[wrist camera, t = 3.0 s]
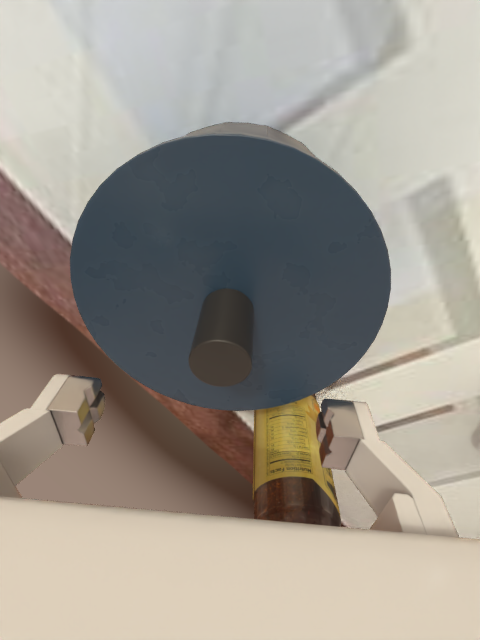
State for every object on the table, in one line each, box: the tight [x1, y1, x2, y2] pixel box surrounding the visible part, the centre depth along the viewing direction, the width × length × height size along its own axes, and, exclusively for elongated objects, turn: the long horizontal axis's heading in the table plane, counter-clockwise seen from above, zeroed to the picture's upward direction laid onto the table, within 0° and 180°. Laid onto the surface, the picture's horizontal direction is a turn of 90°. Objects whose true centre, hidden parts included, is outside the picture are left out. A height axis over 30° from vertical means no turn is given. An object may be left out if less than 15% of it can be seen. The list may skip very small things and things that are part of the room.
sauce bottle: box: [253, 394, 341, 527], centre depth 26 cm, size 7×6×20 cm
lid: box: [70, 132, 391, 411], centre depth 16 cm, size 16×16×5 cm
